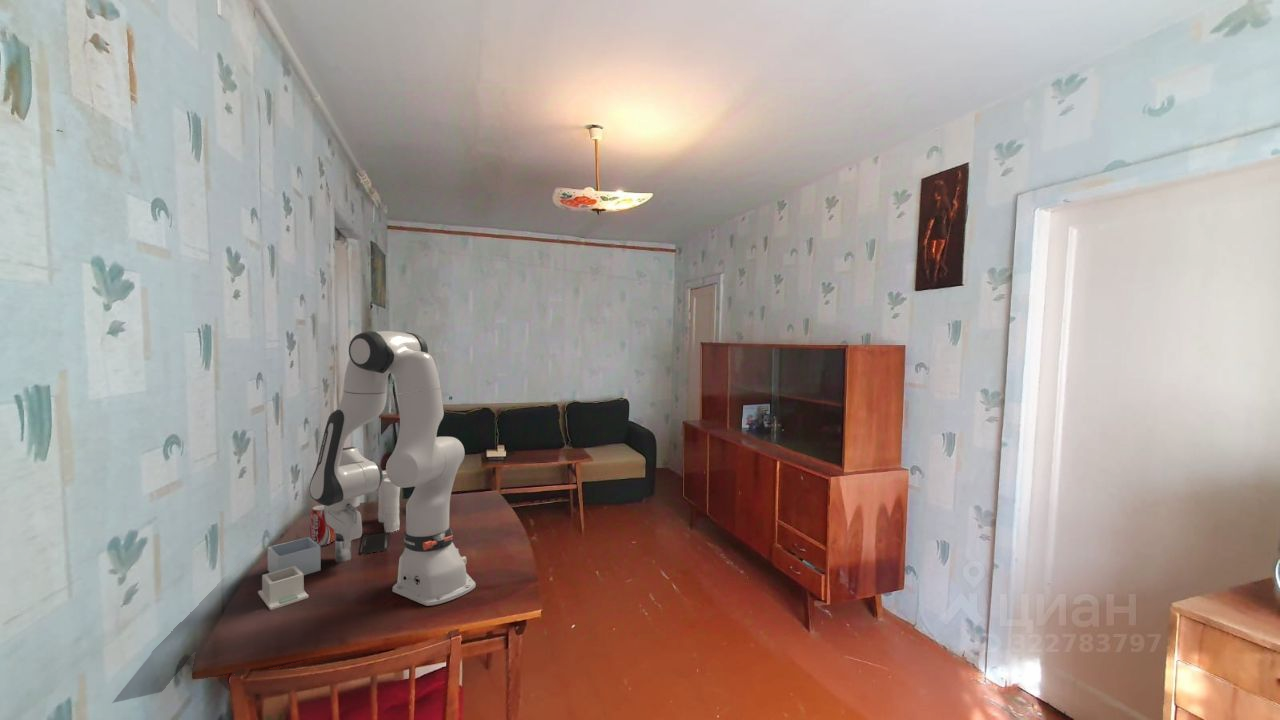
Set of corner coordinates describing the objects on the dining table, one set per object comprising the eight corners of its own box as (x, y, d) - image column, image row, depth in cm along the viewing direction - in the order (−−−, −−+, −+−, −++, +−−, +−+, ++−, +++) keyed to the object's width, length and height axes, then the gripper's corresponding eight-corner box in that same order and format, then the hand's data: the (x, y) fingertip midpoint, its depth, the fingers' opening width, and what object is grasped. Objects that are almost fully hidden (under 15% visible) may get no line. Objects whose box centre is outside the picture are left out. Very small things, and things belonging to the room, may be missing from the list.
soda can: (304, 546, 157) (304, 509, 156) (323, 537, 164) (323, 502, 163) (322, 548, 155) (322, 511, 155) (341, 540, 162) (340, 504, 162)
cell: (353, 559, 148) (353, 527, 148) (338, 563, 145) (338, 531, 145) (348, 555, 151) (348, 524, 150) (333, 559, 148) (333, 528, 147)
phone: (389, 531, 168) (387, 548, 154) (389, 535, 168) (387, 552, 154) (363, 535, 164) (359, 552, 151) (363, 538, 164) (359, 556, 151)
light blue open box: (320, 570, 141) (320, 546, 140) (277, 583, 133) (277, 557, 133) (309, 559, 147) (309, 536, 147) (267, 571, 139) (267, 547, 139)
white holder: (308, 597, 125) (308, 576, 125) (270, 610, 119) (270, 588, 119) (294, 582, 133) (294, 562, 133) (258, 593, 127) (257, 572, 127)
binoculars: (402, 530, 171) (402, 479, 170) (384, 534, 168) (384, 482, 167) (392, 516, 185) (392, 469, 184) (375, 519, 181) (375, 471, 181)
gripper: (368, 505, 143) (368, 552, 143) (342, 491, 156) (342, 534, 157) (344, 511, 138) (344, 559, 139) (319, 495, 151) (320, 539, 152)
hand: (343, 545), depth 148 cm, fingers closed on cell, 4 cm apart
